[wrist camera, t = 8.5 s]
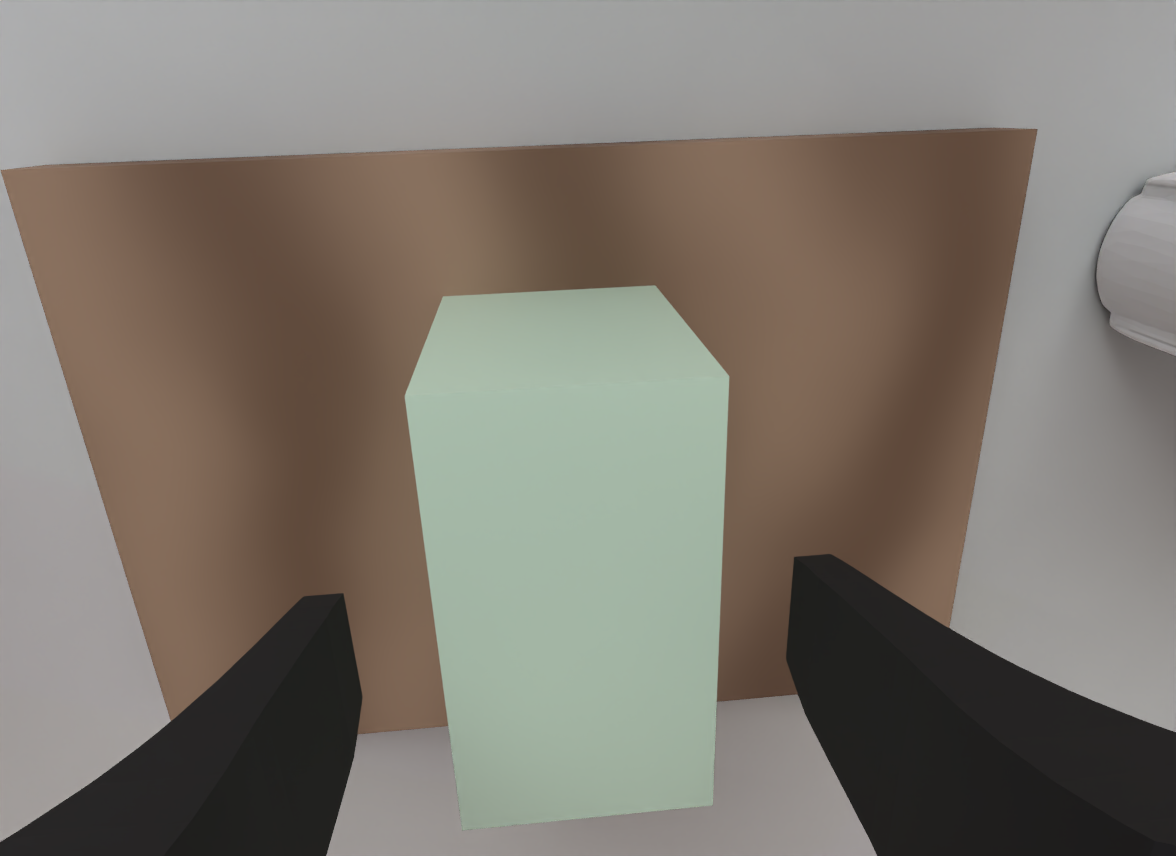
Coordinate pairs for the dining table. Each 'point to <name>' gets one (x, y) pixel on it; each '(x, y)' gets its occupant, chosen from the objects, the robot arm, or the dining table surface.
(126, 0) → the dining table surface
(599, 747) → the block
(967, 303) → the board
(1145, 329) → the photo printer
